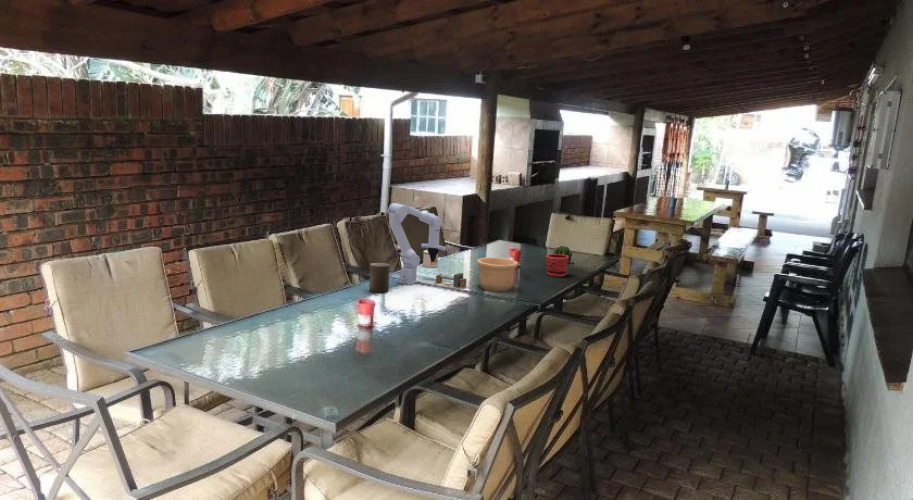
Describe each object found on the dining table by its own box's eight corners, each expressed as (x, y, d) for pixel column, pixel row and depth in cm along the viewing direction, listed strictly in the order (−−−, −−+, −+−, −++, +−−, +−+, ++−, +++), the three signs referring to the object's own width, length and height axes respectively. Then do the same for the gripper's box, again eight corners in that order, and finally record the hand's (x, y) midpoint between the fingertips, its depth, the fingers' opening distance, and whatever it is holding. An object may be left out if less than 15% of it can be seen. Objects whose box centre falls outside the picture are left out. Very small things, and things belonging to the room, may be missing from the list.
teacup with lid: (432, 268, 390) (433, 249, 388) (419, 266, 394) (420, 247, 392) (442, 265, 401) (443, 246, 398) (430, 263, 405) (431, 244, 403)
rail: (467, 286, 349) (468, 278, 348) (462, 289, 344) (462, 280, 343) (439, 282, 357) (440, 273, 356) (434, 284, 351) (434, 275, 351)
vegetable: (550, 261, 419) (548, 247, 431) (561, 274, 425) (559, 260, 437) (566, 252, 414) (564, 239, 426) (577, 265, 420) (575, 251, 432)
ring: (462, 284, 350) (463, 273, 349) (457, 286, 345) (458, 275, 344) (458, 284, 352) (459, 272, 350) (453, 286, 346) (453, 274, 345)
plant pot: (566, 273, 396) (567, 254, 394) (567, 278, 383) (569, 258, 381) (544, 272, 397) (546, 252, 395) (545, 276, 384) (546, 256, 382)
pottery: (468, 288, 347) (470, 261, 344) (486, 280, 366) (487, 255, 363) (506, 294, 337) (508, 267, 334) (522, 286, 356) (524, 261, 354)
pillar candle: (385, 294, 325) (386, 264, 322) (366, 292, 327) (367, 262, 324) (391, 289, 334) (392, 261, 332) (372, 287, 336) (374, 259, 334)
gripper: (449, 238, 358) (447, 262, 361) (426, 234, 365) (425, 258, 367) (442, 239, 352) (441, 264, 355) (419, 236, 359) (418, 260, 361)
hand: (432, 261), depth 360 cm, fingers closed
